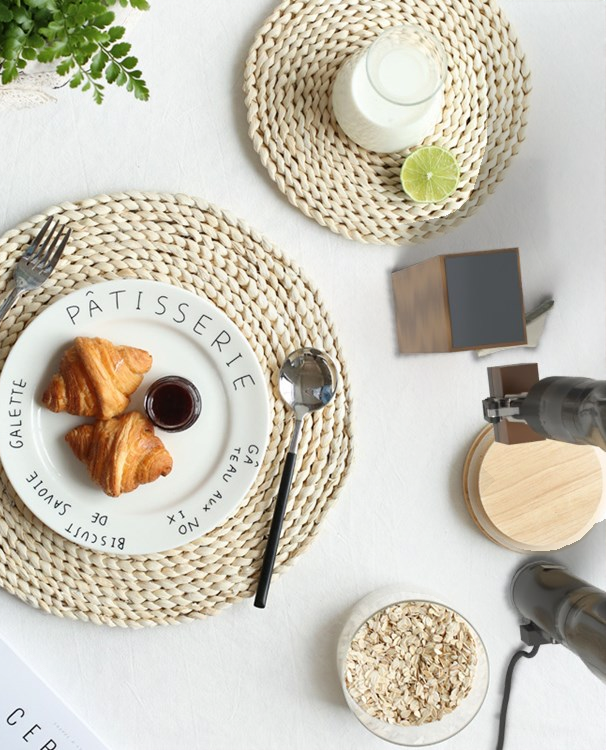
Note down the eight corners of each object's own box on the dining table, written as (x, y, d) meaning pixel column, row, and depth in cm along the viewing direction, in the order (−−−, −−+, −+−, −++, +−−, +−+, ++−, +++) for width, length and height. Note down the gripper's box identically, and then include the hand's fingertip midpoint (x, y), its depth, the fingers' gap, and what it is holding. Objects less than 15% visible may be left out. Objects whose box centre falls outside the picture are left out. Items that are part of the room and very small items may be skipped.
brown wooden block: (531, 437, 110) (546, 440, 106) (494, 441, 110) (508, 445, 106) (522, 362, 110) (537, 362, 106) (486, 367, 110) (500, 367, 105)
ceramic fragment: (549, 298, 124) (561, 296, 120) (565, 328, 125) (578, 327, 121) (470, 345, 124) (479, 344, 120) (487, 374, 124) (496, 375, 120)
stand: (464, 347, 124) (527, 344, 102) (399, 353, 123) (448, 352, 101) (456, 267, 123) (518, 247, 101) (391, 273, 123) (439, 254, 101)
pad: (523, 340, 102) (525, 340, 101) (452, 348, 101) (453, 348, 101) (515, 251, 101) (516, 251, 101) (443, 258, 101) (444, 258, 100)
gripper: (514, 451, 92) (460, 437, 109) (636, 435, 93) (565, 423, 110) (506, 384, 92) (454, 380, 109) (629, 369, 93) (559, 367, 110)
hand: (510, 402), depth 110 cm, fingers closed on brown wooden block, 5 cm apart
